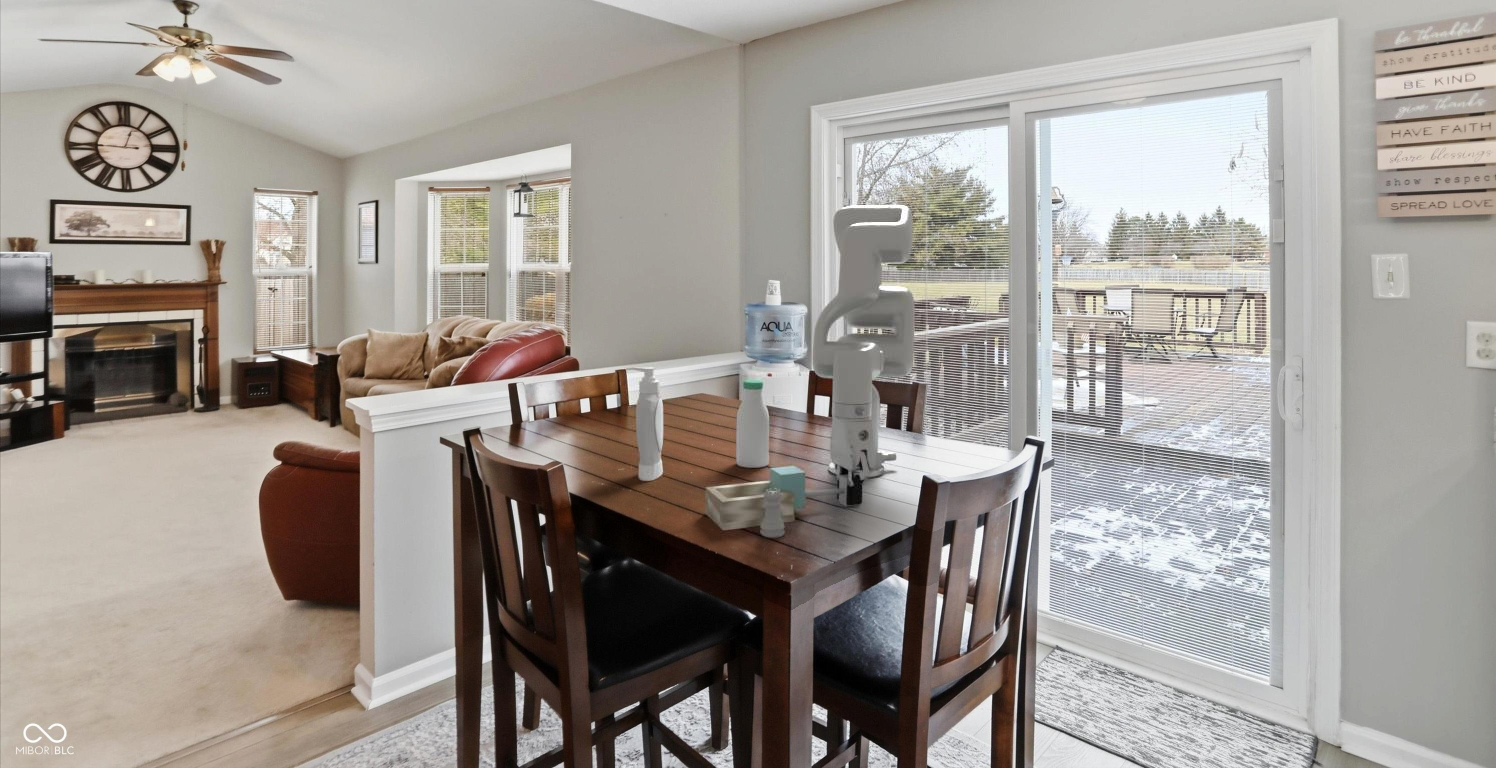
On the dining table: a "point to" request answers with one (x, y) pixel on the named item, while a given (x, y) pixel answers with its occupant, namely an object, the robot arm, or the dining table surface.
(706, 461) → the dining table surface
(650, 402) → the soap bottle
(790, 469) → the cube dumbbell
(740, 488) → the beige wooden open box
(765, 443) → the milk bottle
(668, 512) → the dining table surface
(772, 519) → the rook chess piece
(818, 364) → the robot arm
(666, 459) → the dining table surface
